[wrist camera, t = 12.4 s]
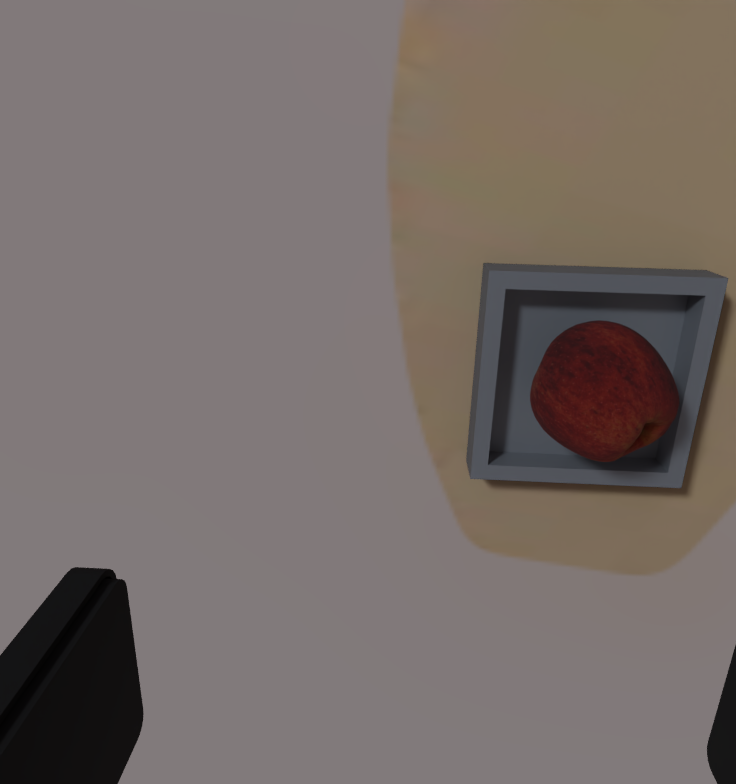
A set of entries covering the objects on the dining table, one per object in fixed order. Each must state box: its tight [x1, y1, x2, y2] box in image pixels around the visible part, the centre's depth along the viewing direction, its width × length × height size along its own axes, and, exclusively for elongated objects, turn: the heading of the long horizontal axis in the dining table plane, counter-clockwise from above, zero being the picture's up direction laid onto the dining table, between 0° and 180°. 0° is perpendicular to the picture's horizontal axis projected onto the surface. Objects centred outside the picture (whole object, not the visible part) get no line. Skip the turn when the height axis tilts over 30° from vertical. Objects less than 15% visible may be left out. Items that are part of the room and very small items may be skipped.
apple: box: [530, 320, 679, 462], centre depth 35 cm, size 7×8×8 cm
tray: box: [466, 263, 728, 488], centre depth 38 cm, size 13×13×3 cm
